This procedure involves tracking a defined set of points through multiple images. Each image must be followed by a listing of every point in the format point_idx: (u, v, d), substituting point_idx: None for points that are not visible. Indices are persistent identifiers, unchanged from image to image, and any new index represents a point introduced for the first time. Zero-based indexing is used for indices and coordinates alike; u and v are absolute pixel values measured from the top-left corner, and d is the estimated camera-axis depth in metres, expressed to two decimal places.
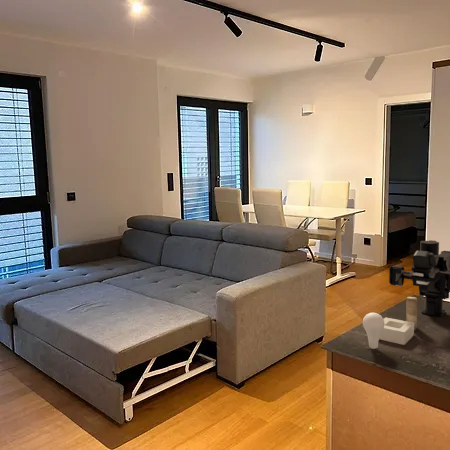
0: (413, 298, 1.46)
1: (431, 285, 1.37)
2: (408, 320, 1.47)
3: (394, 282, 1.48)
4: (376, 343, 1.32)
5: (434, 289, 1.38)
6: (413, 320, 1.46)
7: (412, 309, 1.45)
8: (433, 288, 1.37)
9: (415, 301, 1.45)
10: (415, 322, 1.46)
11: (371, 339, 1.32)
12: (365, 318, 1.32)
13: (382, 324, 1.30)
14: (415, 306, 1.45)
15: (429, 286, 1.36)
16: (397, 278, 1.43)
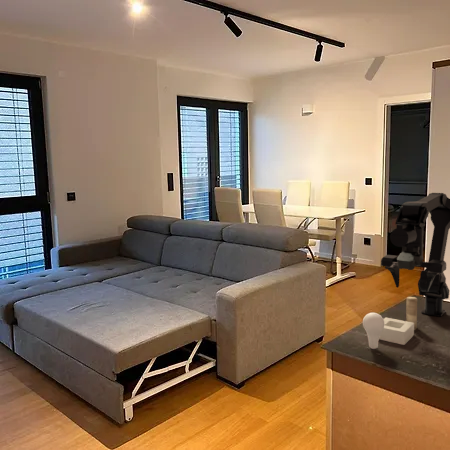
0: (413, 298, 1.46)
1: (429, 286, 1.42)
2: (408, 320, 1.47)
3: None
4: (376, 343, 1.32)
5: (432, 280, 1.43)
6: (413, 320, 1.46)
7: (412, 309, 1.45)
8: (431, 282, 1.43)
9: (415, 301, 1.45)
10: (415, 322, 1.46)
11: (371, 339, 1.32)
12: (365, 318, 1.32)
13: (382, 324, 1.30)
14: (415, 306, 1.45)
15: (428, 289, 1.43)
16: (395, 281, 1.48)
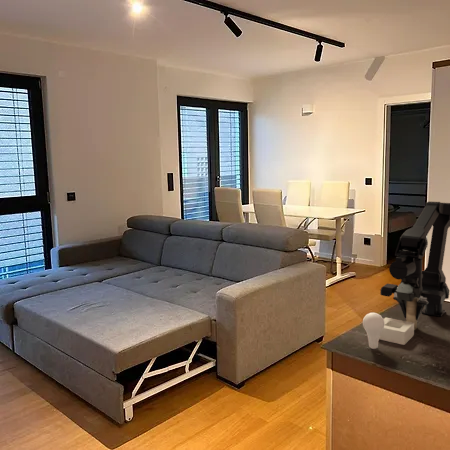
0: None
1: (419, 315, 1.46)
2: (408, 320, 1.47)
3: None
4: (376, 343, 1.32)
5: (422, 309, 1.46)
6: (413, 320, 1.46)
7: (412, 309, 1.45)
8: (421, 311, 1.46)
9: (415, 301, 1.45)
10: (415, 322, 1.46)
11: (371, 339, 1.32)
12: (365, 318, 1.32)
13: (382, 324, 1.30)
14: (415, 306, 1.45)
15: (418, 317, 1.46)
16: (404, 312, 1.48)
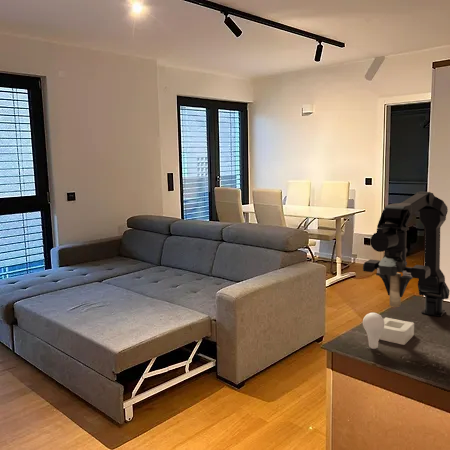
0: (397, 274, 1.39)
1: (403, 291, 1.38)
2: (391, 297, 1.39)
3: None
4: (376, 343, 1.32)
5: (406, 285, 1.38)
6: (397, 297, 1.38)
7: (395, 285, 1.38)
8: (405, 287, 1.38)
9: (399, 276, 1.37)
10: (399, 299, 1.38)
11: (371, 339, 1.32)
12: (365, 318, 1.32)
13: (382, 324, 1.30)
14: (399, 282, 1.38)
15: (402, 294, 1.38)
16: (387, 288, 1.40)
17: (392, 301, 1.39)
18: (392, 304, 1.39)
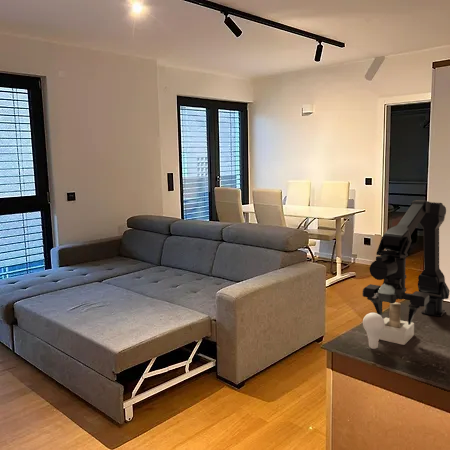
0: (396, 303, 1.40)
1: (411, 319, 1.37)
2: None
3: None
4: (376, 343, 1.32)
5: None
6: (396, 326, 1.40)
7: (395, 314, 1.39)
8: (414, 314, 1.38)
9: (398, 306, 1.39)
10: None
11: (371, 339, 1.32)
12: (365, 318, 1.32)
13: (382, 324, 1.30)
14: (398, 312, 1.39)
15: (410, 321, 1.38)
16: (378, 312, 1.43)
17: None
18: None
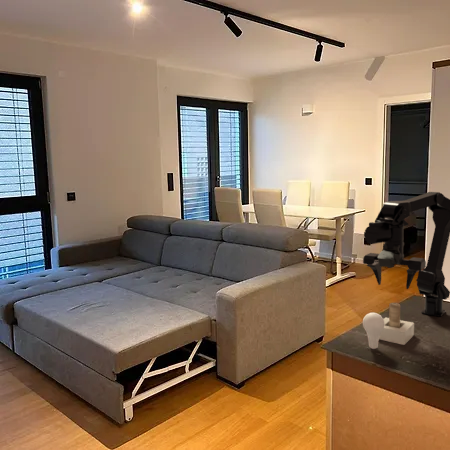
0: (396, 304, 1.40)
1: (409, 283, 1.46)
2: None
3: None
4: (376, 343, 1.32)
5: (412, 278, 1.47)
6: (396, 327, 1.40)
7: (395, 315, 1.39)
8: (411, 279, 1.46)
9: (398, 307, 1.39)
10: None
11: (371, 339, 1.32)
12: (365, 318, 1.32)
13: (382, 324, 1.30)
14: (398, 312, 1.39)
15: (408, 286, 1.46)
16: (377, 278, 1.52)
17: None
18: None
